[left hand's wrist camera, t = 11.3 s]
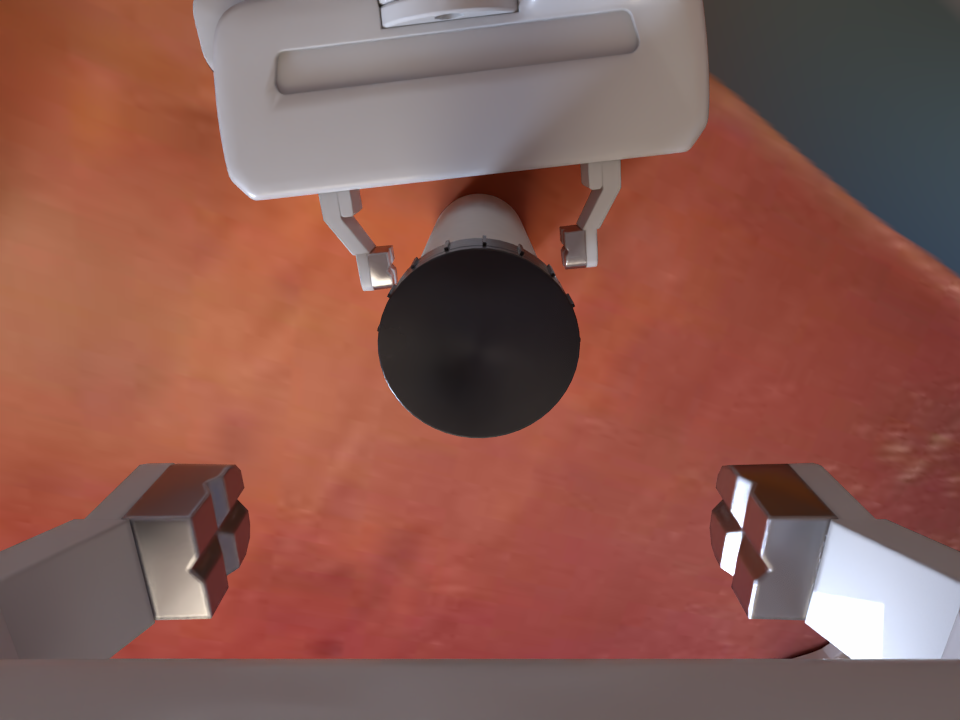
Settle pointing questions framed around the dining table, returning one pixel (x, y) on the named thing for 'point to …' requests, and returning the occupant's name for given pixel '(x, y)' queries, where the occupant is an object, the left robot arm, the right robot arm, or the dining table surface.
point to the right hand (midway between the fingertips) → (479, 276)
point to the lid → (478, 338)
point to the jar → (478, 222)
